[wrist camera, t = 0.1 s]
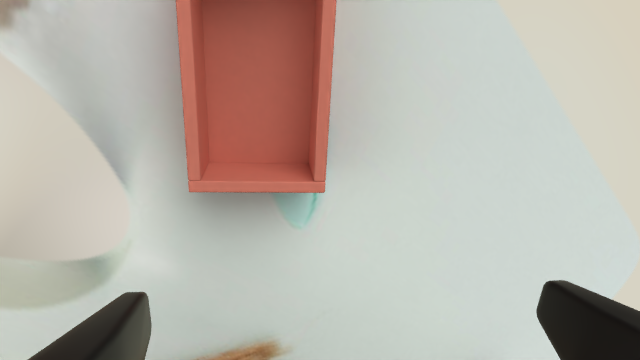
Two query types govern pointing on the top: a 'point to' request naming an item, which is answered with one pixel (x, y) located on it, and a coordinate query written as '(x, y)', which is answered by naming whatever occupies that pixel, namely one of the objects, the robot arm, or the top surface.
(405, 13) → the top surface
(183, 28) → the tray
